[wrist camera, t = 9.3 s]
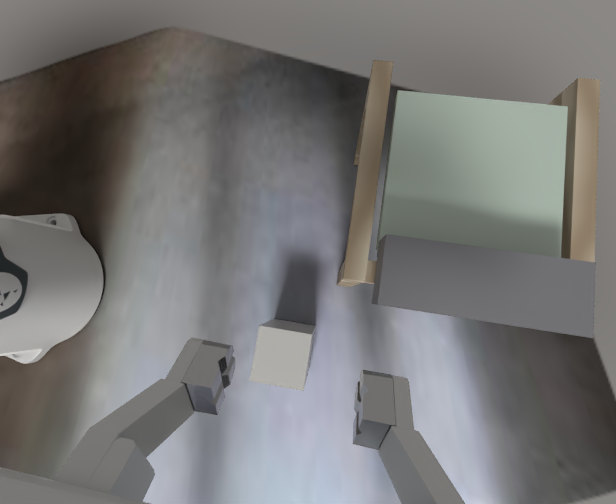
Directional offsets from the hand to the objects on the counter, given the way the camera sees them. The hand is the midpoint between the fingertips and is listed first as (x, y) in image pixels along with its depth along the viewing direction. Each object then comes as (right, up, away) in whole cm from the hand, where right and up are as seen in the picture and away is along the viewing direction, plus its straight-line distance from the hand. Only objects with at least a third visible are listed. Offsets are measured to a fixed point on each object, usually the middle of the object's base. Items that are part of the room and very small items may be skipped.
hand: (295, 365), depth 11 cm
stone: (-2, -7, +25) cm, 26 cm away
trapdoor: (+12, +7, +11) cm, 18 cm away
